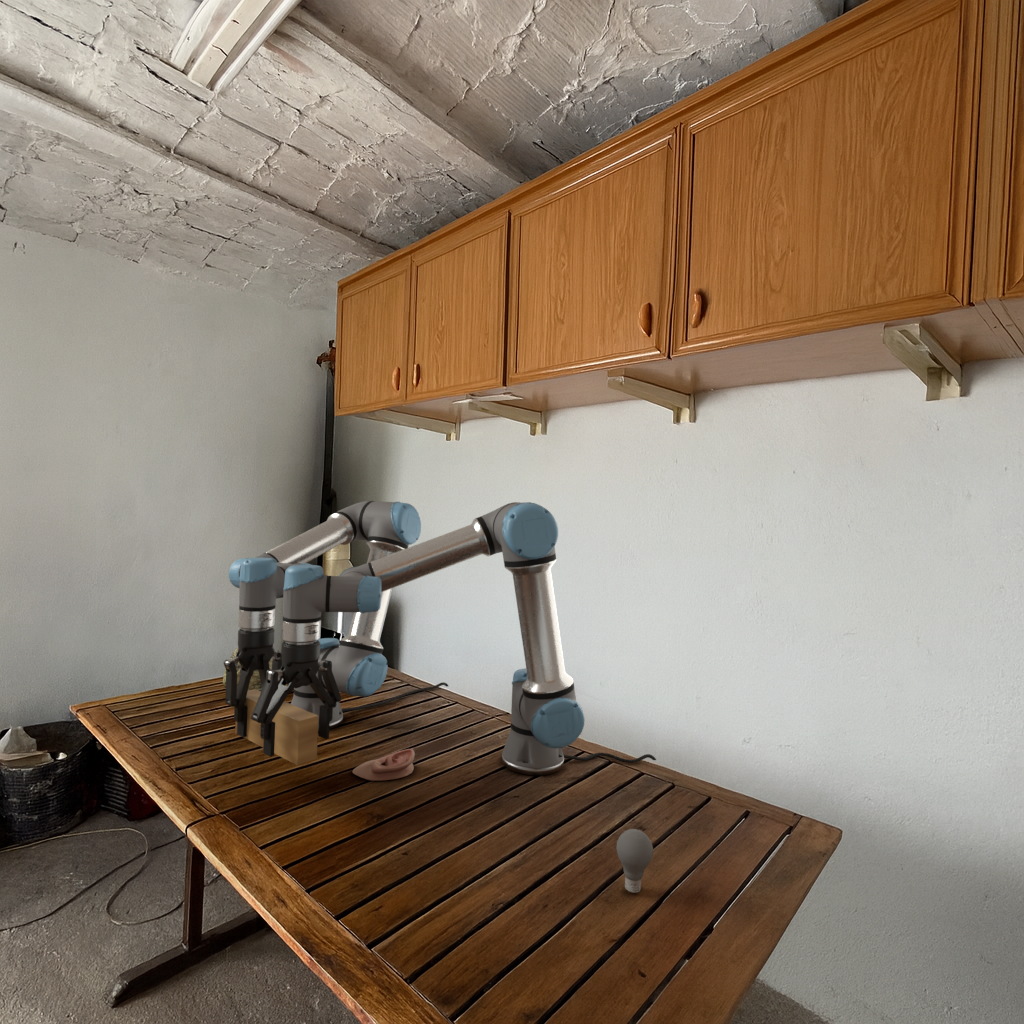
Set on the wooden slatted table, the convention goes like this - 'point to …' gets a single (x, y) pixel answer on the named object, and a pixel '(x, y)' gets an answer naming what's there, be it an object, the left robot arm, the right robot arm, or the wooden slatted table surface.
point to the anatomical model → (387, 766)
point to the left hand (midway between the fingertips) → (252, 731)
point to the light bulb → (634, 857)
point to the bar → (286, 731)
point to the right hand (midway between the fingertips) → (297, 745)
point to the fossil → (255, 679)
